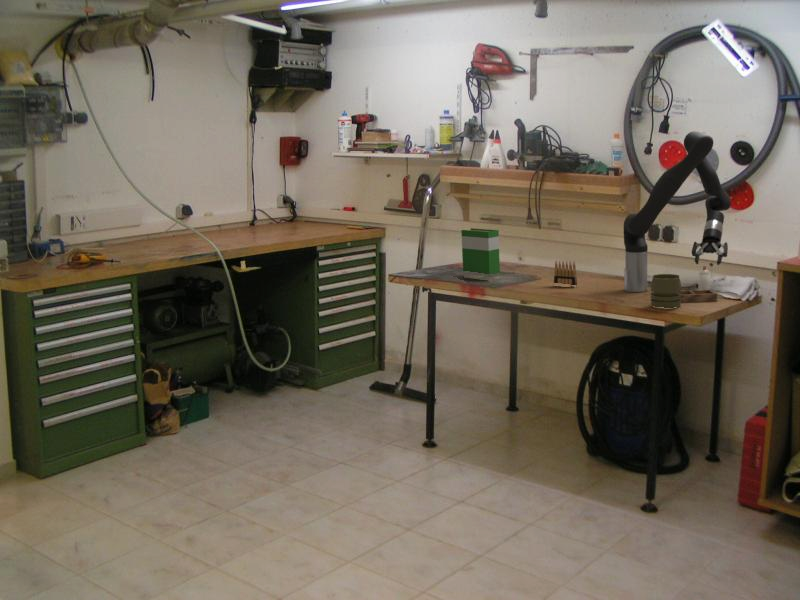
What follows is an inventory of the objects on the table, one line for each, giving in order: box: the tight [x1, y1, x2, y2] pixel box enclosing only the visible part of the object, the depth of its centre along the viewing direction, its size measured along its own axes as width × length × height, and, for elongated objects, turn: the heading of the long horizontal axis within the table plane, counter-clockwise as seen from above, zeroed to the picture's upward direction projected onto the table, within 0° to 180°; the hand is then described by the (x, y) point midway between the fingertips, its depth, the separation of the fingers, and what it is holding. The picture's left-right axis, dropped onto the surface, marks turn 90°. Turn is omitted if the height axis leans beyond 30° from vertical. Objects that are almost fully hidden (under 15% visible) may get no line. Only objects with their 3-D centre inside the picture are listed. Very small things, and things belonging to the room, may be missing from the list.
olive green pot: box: [650, 273, 682, 308], centre depth 340 cm, size 11×12×11 cm
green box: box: [460, 227, 501, 274], centre depth 421 cm, size 18×7×24 cm, turn 42°
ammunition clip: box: [553, 260, 578, 286], centre depth 390 cm, size 11×2×12 cm, turn 54°
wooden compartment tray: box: [678, 289, 718, 303], centre depth 350 cm, size 17×9×3 cm, turn 86°
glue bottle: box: [697, 265, 711, 290], centre depth 359 cm, size 5×5×12 cm
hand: (707, 263), depth 364 cm, fingers open, 8 cm apart
